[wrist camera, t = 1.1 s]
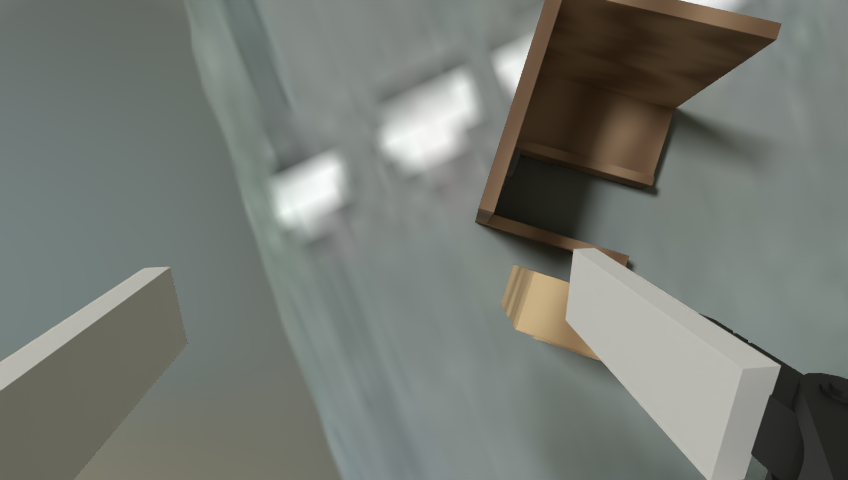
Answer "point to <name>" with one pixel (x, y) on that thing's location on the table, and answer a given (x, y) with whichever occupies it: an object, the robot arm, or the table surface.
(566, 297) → the tan block
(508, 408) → the table surface
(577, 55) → the cabinet
